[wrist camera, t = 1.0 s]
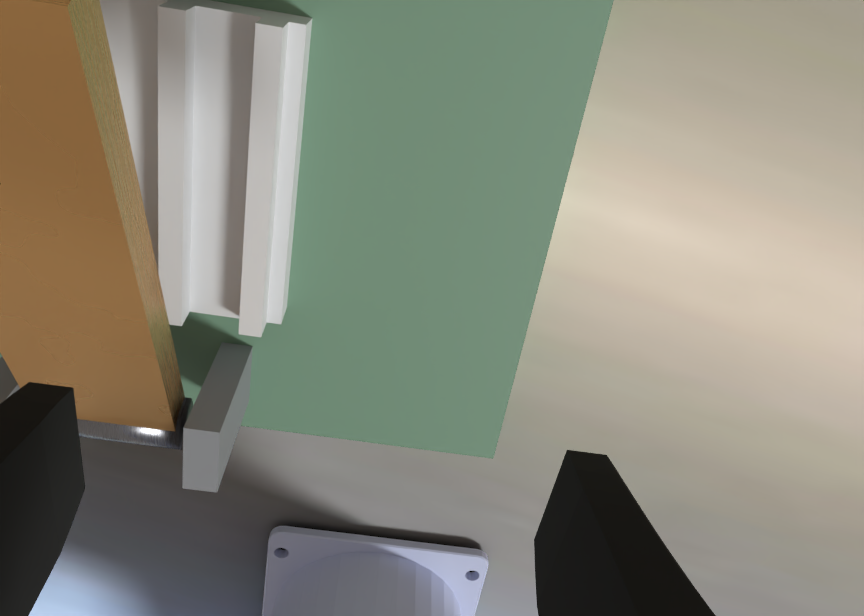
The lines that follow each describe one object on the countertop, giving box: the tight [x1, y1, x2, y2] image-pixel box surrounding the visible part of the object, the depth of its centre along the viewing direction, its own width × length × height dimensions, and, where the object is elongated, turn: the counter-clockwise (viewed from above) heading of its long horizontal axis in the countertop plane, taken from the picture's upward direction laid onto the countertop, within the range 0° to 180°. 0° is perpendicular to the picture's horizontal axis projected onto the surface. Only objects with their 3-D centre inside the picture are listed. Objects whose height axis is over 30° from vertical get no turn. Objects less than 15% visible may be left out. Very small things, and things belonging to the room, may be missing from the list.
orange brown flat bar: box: [0, 0, 193, 450], centre depth 16 cm, size 14×4×1 cm, turn 170°
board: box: [0, 0, 614, 493], centre depth 19 cm, size 18×22×5 cm
